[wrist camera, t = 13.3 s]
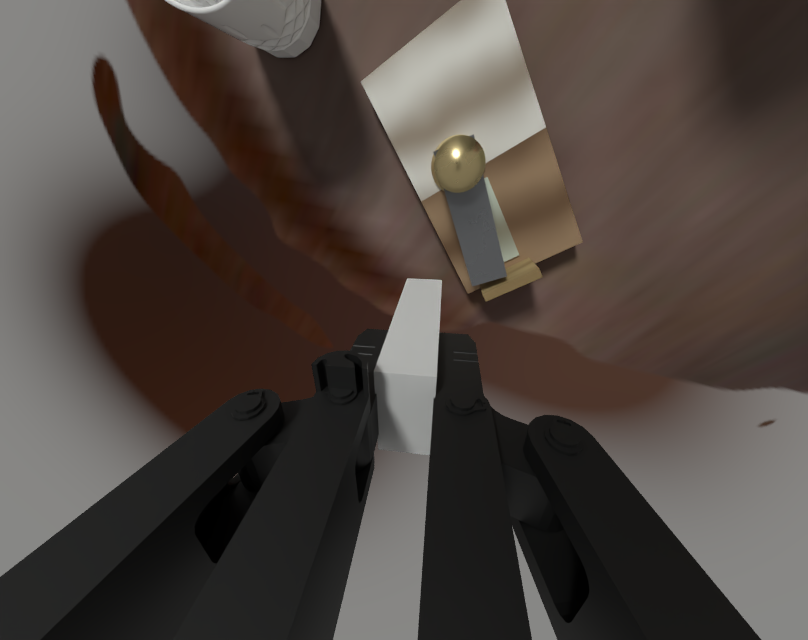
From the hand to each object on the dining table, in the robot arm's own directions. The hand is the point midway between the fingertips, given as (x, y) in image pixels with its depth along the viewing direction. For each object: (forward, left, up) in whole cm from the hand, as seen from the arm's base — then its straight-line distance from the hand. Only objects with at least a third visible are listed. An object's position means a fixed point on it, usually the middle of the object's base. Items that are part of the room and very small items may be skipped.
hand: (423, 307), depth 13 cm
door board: (-3, +6, -18) cm, 19 cm away
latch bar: (0, +4, -16) cm, 16 cm away
